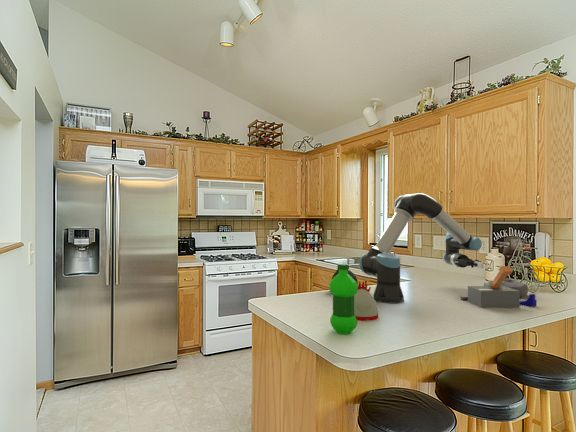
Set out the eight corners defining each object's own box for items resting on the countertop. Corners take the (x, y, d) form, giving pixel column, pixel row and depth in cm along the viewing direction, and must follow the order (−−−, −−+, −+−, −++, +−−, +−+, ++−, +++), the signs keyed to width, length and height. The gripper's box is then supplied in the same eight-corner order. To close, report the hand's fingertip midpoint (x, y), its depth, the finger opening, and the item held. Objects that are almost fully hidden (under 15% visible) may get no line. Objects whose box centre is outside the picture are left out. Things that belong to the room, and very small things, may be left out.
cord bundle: (463, 300, 175) (463, 297, 175) (460, 299, 178) (460, 296, 178) (504, 300, 175) (504, 298, 175) (500, 299, 178) (500, 296, 178)
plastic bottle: (331, 326, 133) (331, 262, 133) (359, 328, 130) (358, 263, 130) (327, 334, 123) (326, 265, 123) (356, 337, 120) (356, 266, 120)
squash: (363, 284, 189) (355, 262, 199) (338, 287, 186) (331, 264, 196) (356, 297, 200) (348, 275, 209) (332, 300, 196) (325, 277, 206)
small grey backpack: (530, 295, 188) (490, 290, 203) (530, 280, 188) (490, 275, 203) (522, 299, 178) (480, 293, 193) (522, 283, 178) (480, 278, 193)
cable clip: (536, 306, 165) (536, 293, 165) (533, 307, 162) (533, 294, 162) (508, 301, 174) (508, 289, 174) (505, 302, 171) (504, 290, 171)
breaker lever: (490, 290, 165) (503, 271, 154) (487, 285, 167) (500, 266, 157) (498, 290, 165) (512, 271, 154) (495, 285, 167) (509, 266, 157)
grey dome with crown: (343, 311, 154) (343, 278, 155) (374, 312, 154) (374, 278, 154) (348, 320, 140) (347, 284, 141) (381, 321, 140) (381, 284, 140)
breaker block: (481, 307, 160) (480, 285, 161) (468, 301, 172) (467, 281, 173) (519, 307, 160) (519, 285, 160) (503, 301, 172) (503, 281, 172)
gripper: (471, 266, 199) (494, 272, 176) (448, 266, 200) (469, 272, 176) (471, 254, 200) (494, 258, 176) (448, 253, 200) (469, 258, 176)
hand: (482, 265), depth 176 cm, fingers closed
